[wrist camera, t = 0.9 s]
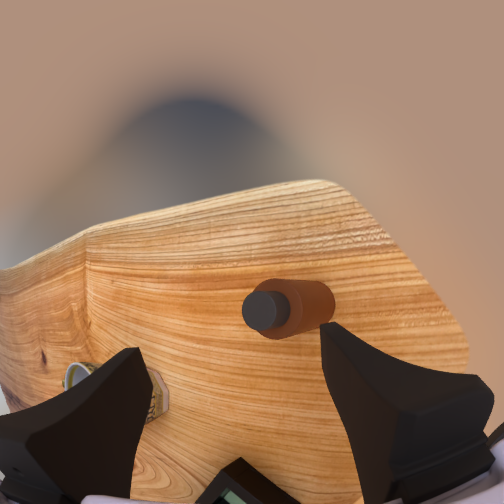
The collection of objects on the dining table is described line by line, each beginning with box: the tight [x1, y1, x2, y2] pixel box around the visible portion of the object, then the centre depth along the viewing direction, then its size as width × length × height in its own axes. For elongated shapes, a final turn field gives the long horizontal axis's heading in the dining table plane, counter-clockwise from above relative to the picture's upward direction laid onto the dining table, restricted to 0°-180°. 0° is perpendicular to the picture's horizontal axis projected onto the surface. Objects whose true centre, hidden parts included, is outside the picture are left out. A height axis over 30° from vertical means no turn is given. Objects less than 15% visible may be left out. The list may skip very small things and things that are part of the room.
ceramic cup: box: [62, 362, 169, 424], centre depth 32 cm, size 13×10×10 cm
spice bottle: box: [242, 279, 335, 340], centre depth 23 cm, size 4×4×9 cm
